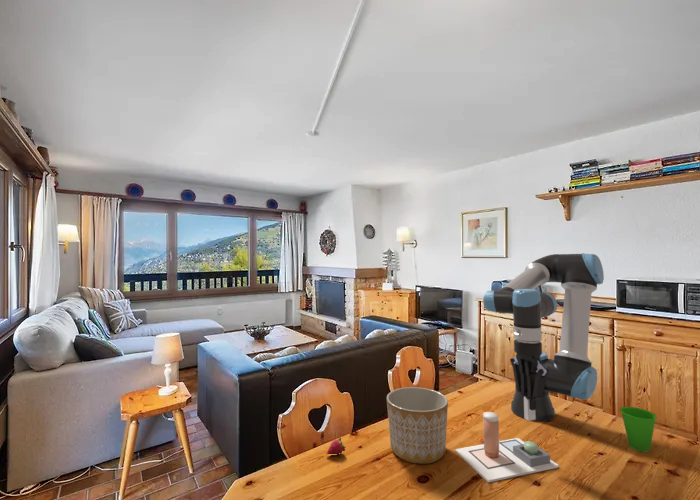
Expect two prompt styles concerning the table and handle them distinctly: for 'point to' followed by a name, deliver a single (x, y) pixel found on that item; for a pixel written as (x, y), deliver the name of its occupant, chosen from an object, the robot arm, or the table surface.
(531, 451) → the button
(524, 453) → the button housing
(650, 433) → the cup
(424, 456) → the planter
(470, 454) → the sheet
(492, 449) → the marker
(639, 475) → the table surface
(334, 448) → the fruit
